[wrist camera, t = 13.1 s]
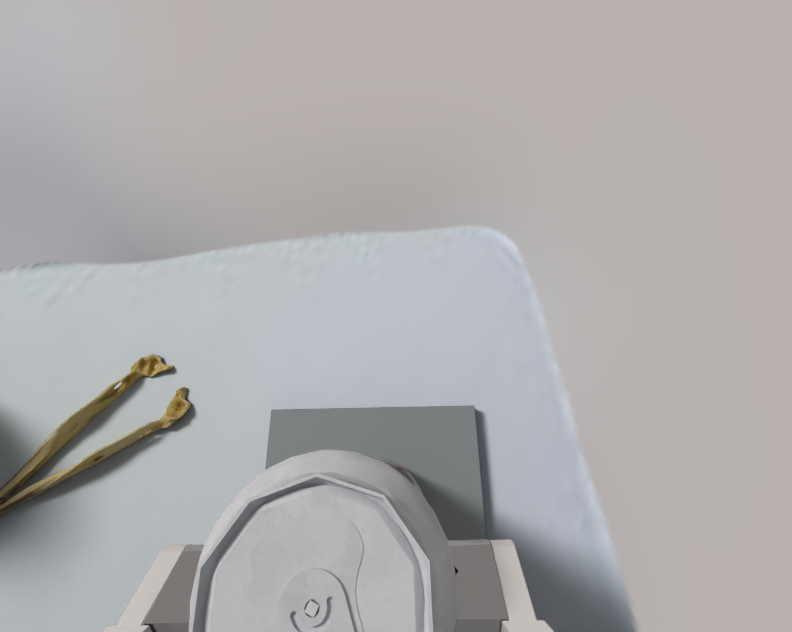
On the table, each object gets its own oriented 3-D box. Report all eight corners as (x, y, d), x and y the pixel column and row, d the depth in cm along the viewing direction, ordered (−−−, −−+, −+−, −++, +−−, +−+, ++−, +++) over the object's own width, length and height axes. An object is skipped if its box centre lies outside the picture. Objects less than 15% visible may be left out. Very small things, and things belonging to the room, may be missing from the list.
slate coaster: (494, 656, 16) (497, 662, 15) (251, 658, 16) (245, 665, 15) (472, 407, 19) (474, 405, 19) (275, 411, 20) (271, 409, 19)
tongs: (-67, 536, 18) (-118, 542, 17) (171, 354, 22) (151, 343, 20) (-33, 612, 17) (-83, 627, 15) (212, 407, 21) (195, 399, 19)
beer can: (404, 442, 18) (403, 409, 7) (442, 551, 17) (519, 734, 5) (307, 479, 18) (139, 506, 7) (336, 595, 16) (179, 895, 5)
